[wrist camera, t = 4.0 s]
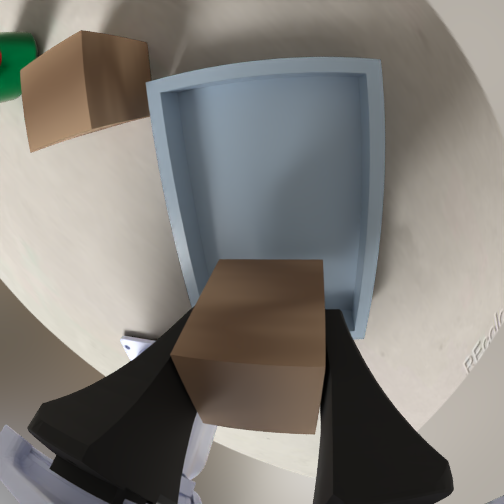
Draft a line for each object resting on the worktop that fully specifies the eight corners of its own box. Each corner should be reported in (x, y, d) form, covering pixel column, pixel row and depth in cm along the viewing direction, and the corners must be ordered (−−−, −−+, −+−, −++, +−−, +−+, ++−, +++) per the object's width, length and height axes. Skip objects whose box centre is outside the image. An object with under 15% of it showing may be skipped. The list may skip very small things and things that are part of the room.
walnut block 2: (322, 259, 11) (325, 366, 6) (319, 335, 13) (314, 434, 8) (219, 259, 11) (170, 354, 7) (233, 332, 13) (203, 423, 9)
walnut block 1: (156, 115, 13) (91, 129, 8) (96, 131, 13) (30, 152, 9) (147, 42, 11) (81, 30, 6) (88, 66, 11) (20, 70, 7)
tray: (359, 310, 16) (364, 338, 14) (210, 307, 18) (199, 333, 16) (368, 66, 10) (380, 59, 8) (169, 83, 12) (145, 82, 10)
